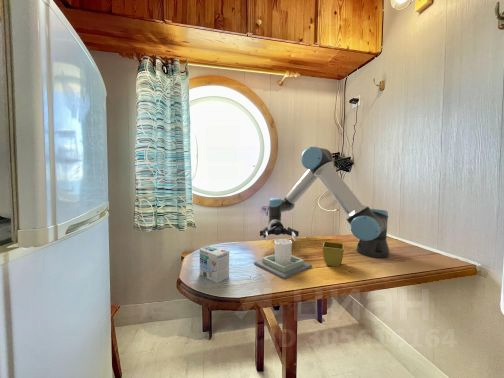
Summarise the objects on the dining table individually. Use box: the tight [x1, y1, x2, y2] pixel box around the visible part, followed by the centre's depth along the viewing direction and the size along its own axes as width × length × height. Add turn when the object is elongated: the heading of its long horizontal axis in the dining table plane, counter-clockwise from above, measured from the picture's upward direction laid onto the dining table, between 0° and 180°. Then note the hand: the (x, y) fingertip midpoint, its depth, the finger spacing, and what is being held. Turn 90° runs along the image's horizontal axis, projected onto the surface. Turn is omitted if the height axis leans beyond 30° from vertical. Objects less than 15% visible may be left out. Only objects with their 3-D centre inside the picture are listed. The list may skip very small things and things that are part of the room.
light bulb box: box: [199, 245, 230, 284], centre depth 89 cm, size 11×7×11 cm, turn 51°
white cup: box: [273, 238, 293, 266], centre depth 100 cm, size 8×8×10 cm
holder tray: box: [253, 253, 313, 280], centre depth 101 cm, size 18×18×3 cm
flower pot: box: [322, 240, 345, 268], centre depth 102 cm, size 9×9×9 cm
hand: (281, 237), depth 110 cm, fingers open, 13 cm apart
